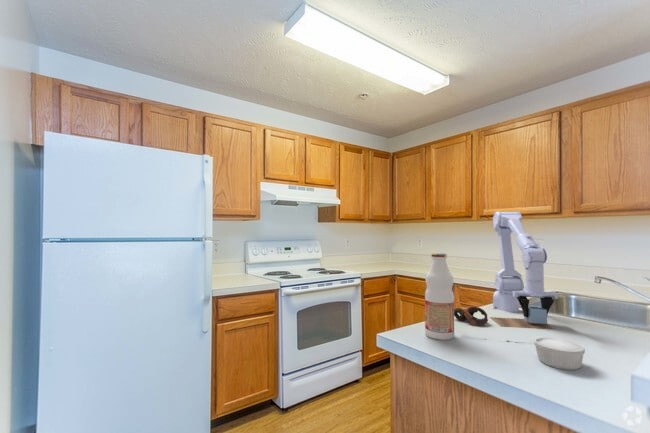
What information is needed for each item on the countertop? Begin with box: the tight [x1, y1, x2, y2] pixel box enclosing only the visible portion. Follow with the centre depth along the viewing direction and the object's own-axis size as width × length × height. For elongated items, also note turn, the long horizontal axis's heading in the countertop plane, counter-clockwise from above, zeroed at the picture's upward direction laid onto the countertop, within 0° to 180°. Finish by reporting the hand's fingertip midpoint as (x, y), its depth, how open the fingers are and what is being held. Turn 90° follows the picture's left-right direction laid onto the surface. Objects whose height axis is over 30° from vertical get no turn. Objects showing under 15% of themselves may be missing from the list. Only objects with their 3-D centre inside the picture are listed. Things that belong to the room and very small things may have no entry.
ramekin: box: [534, 337, 586, 371], centre depth 88 cm, size 11×11×5 cm
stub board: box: [489, 316, 556, 330], centre depth 119 cm, size 18×12×5 cm, turn 81°
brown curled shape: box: [454, 305, 489, 327], centre depth 120 cm, size 12×10×8 cm
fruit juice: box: [424, 252, 455, 341], centre depth 109 cm, size 9×9×28 cm
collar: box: [523, 305, 548, 324], centre depth 118 cm, size 5×5×5 cm
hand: (535, 317), depth 118 cm, fingers open, 6 cm apart
